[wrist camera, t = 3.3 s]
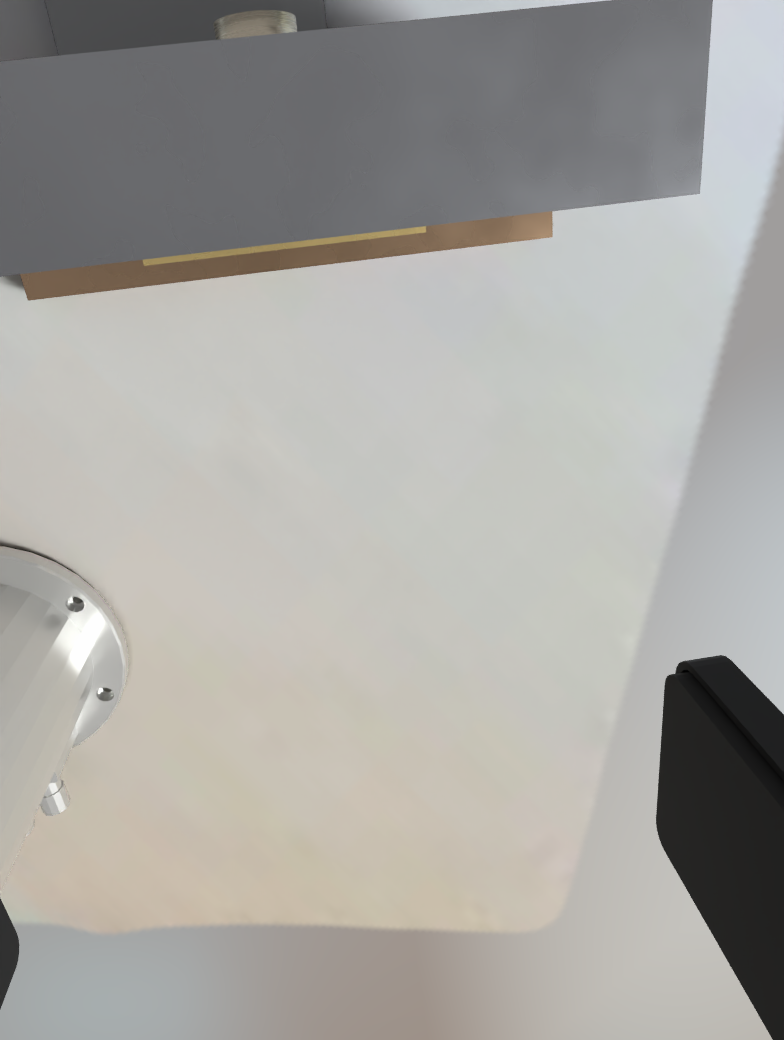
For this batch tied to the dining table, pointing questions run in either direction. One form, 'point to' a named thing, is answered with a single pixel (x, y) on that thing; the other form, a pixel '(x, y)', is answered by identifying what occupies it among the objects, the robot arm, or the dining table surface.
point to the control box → (342, 140)
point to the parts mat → (158, 21)
